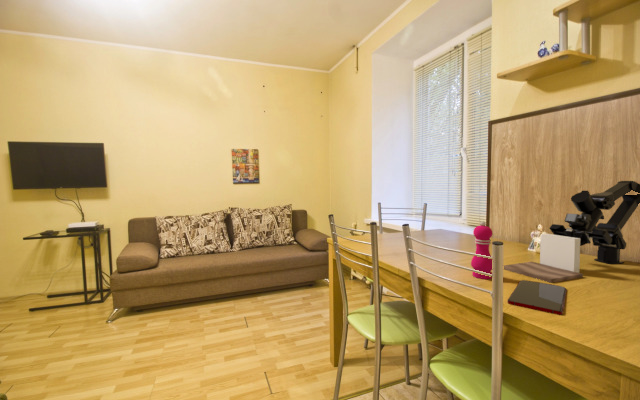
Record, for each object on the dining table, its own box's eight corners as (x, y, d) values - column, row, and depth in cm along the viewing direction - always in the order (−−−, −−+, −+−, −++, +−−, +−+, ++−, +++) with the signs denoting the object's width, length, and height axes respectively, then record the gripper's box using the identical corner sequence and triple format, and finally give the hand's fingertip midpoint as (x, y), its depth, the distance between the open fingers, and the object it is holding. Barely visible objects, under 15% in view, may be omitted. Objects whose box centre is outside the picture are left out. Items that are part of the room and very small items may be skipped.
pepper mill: (473, 272, 112) (474, 219, 111) (495, 275, 108) (496, 220, 107) (468, 277, 107) (469, 221, 106) (491, 281, 102) (492, 223, 101)
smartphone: (566, 286, 94) (562, 311, 75) (566, 291, 94) (562, 317, 75) (520, 278, 102) (506, 300, 83) (520, 283, 102) (506, 305, 83)
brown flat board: (531, 264, 122) (531, 261, 122) (582, 277, 105) (582, 273, 105) (502, 268, 117) (502, 265, 116) (551, 282, 100) (551, 279, 99)
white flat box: (545, 265, 120) (545, 233, 119) (579, 273, 109) (580, 238, 108) (539, 266, 119) (540, 233, 118) (573, 274, 108) (574, 239, 107)
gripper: (553, 204, 125) (533, 232, 122) (608, 207, 107) (587, 240, 104) (565, 222, 128) (546, 250, 125) (621, 228, 110) (600, 260, 107)
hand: (568, 250), depth 115 cm, fingers closed
